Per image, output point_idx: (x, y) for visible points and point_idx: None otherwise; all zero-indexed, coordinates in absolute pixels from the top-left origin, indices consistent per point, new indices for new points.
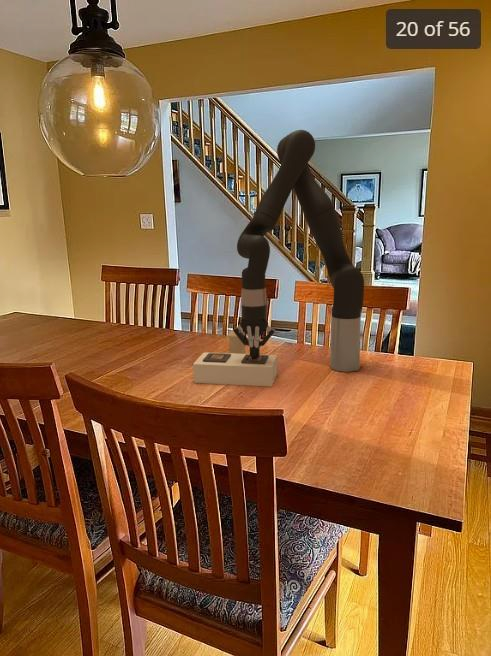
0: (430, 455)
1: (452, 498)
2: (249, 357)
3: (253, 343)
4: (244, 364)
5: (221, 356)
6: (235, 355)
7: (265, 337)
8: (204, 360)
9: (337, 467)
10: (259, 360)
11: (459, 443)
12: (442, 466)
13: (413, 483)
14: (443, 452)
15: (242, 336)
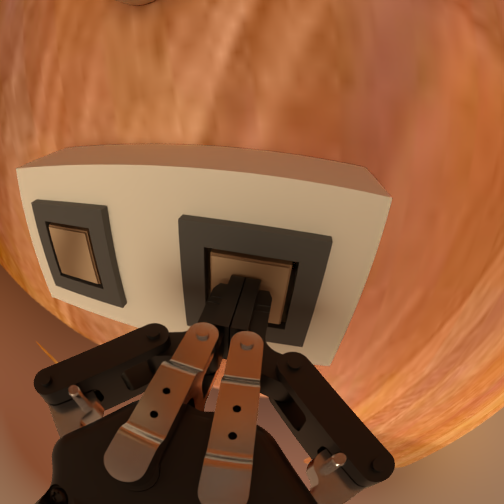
0: (445, 439)
1: (414, 461)
2: (212, 278)
3: (215, 364)
4: None
5: (83, 253)
6: (125, 201)
7: (301, 440)
8: (60, 285)
9: None
10: (275, 323)
11: (483, 421)
12: (440, 445)
13: (403, 459)
14: (459, 434)
15: (126, 398)
